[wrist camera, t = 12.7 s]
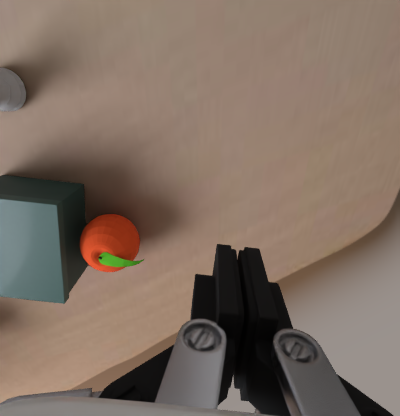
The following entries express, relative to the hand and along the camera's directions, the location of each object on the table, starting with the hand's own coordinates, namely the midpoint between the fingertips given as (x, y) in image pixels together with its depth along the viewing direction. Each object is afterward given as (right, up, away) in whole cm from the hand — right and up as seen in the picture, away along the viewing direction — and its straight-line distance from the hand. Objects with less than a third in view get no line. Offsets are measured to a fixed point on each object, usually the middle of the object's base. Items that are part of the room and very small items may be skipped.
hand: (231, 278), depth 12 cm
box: (-21, +1, +28) cm, 35 cm away
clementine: (-11, 0, +28) cm, 30 cm away
